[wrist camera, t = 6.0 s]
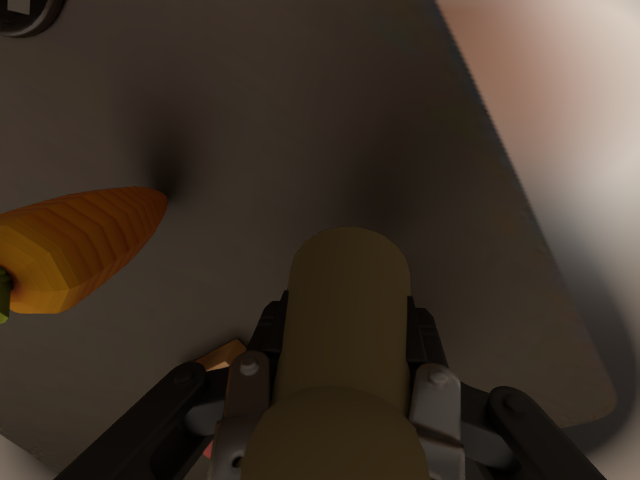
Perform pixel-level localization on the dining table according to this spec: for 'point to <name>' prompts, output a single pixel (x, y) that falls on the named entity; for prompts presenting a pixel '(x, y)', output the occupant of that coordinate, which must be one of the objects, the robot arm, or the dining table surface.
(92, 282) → the carrot
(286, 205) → the dining table surface
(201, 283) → the dining table surface
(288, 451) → the cork
